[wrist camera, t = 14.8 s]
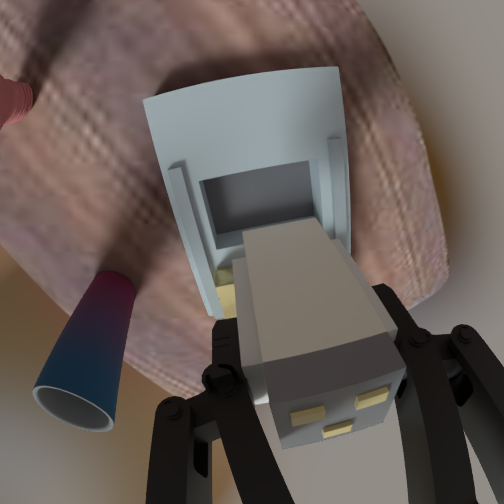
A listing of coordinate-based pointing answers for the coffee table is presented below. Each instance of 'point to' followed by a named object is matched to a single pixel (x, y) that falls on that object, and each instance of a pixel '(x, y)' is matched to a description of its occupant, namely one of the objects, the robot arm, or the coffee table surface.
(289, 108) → the socket board
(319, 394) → the plug
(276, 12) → the coffee table surface
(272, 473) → the robot arm
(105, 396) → the cup
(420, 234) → the coffee table surface
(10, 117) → the light bulb
